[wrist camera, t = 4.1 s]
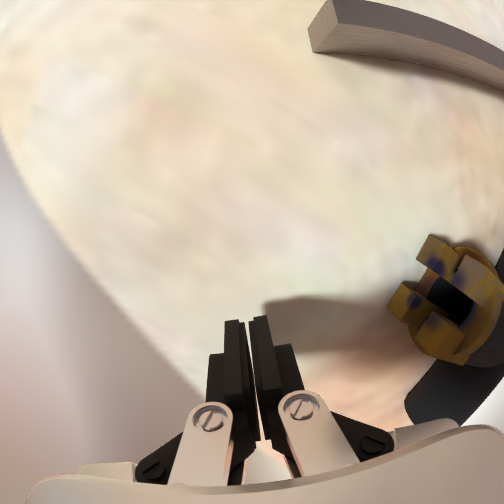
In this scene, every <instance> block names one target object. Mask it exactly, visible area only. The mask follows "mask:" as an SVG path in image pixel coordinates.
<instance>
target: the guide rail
mask: <svg viewBox="0 0 504 504" xmlns="http://www.w3.org/2000/svg"><path fill="white" fill-rule="evenodd" d="M308 32H309V37H310V41H311V46H312V51H313V52H319V53H340V54H353V55H363V56H372V57H379V58H386V59H393V60H399V61H404V62H409V63H414V64H419V65H423V66H428V67H432V68H436V69H440V70H444V71H447V72H451V73H454V74H457V75H461V76H464V77H467V78H470V79H473V80H476V81H479V82H482V83H484V84H487V85H490V86H492V87H495V88H497V89H500V90H502V91H504V51H502V50H500V49H499V48H497V47H495V46H493V45H491V44H489V43H488V42H486V41H484V40H482V39H480V38H478V37H476V36H474V35H471V34H469V33H467V32H465V31H463V30H460V29H458V28H456V27H453V26H451V25H448V24H446V23H443V22H441V21H438V20H435V19H432V18H430V17H427V16H424V15H421V14H417V13H414V12H411V11H407V10H404V9H400V8H397V7H393V6H389V5H384V4H380V3H375V2H371V1H365V0H327V1H326V2H325V4H324V5H323V6H322V8H321V9H320V11H319V12H318V14H317V15H316V17H315V18H314V20H313V21H312V23H311V24H310V26H309V27H308Z"/></svg>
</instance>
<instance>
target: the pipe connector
mask: <svg viewBox="0 0 504 504" xmlns="http://www.w3.org/2000/svg"><path fill="white" fill-rule="evenodd" d="M416 260H418V261H419V262H420V263H422V264H423V265H425V266H426V267H428V268H427V270H426V272H425V273H424V275H423V277H422V279H421V280H420V282H419V284H418V285H417V287H416V288H415V290H413V289H411V288H409V287H407V286H405V285H404V284H402V283H401V285H400V286H399V288H398V290H397V291H396V293H395V294H394V296H393V297H392V299H391V300H390V302H389V304H388V305H387V307H388V308H389V310H390V311H391V312H392V313H393V314H394V315H395V316H396V317H397V318H398V319H399V320H400V321H401V322H404V323H406V324H408V328H409V333H410V335H411V338H412V340H413V342H414V343H415V345H416V346H417V347H418V348H419V349H420V350H421V351H422V352H423V353H425V354H427V355H429V356H432V357H435V358H438V361H437V362H436V363H435V364H434V366H433V367H432V368H431V369H430V371H429V372H428V373H427V374H426V375H425V377H424V378H423V379H422V380H421V381H420V382H419V384H418V385H417V386H416V387H415V388H414V389H413V390H412V391H411V392H410V394H409V395H408V396H407V397H406V398H405V400H404V405H405V409H406V412H407V414H408V416H409V418H410V419H411V421H412V422H413V424H414V425H416V424H421V423H425V422H430V421H434V420H438V419H444V418H448V419H452V420H454V421H455V422H456V423H457V424H458V425H459V427H460V426H461V425H462V424H463V423H464V422H465V421H466V420H467V419H468V418H469V417H470V416H471V415H472V414H473V413H474V412H475V411H476V409H477V408H478V407H479V406H480V405H481V404H482V403H483V402H484V401H485V399H486V398H487V397H488V396H489V395H490V393H491V392H492V391H493V390H494V389H495V387H496V386H497V385H498V383H499V382H500V381H501V380H502V378H503V377H504V252H503V254H502V256H501V259H500V261H499V263H498V265H497V267H496V269H495V268H494V267H493V266H492V264H491V263H490V262H489V261H488V260H487V259H486V257H485V256H484V255H483V254H481V253H480V252H478V251H477V250H475V249H472V248H469V247H455V248H451V247H449V246H448V245H447V244H446V243H444V242H442V241H440V240H438V239H436V238H434V237H432V236H430V235H428V237H427V239H426V241H425V243H424V245H423V247H422V249H421V250H420V252H419V254H418V256H417V258H416Z"/></svg>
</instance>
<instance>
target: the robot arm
mask: <svg viewBox="0 0 504 504" xmlns="http://www.w3.org/2000/svg"><path fill="white" fill-rule="evenodd" d="M253 319H254V321H249V332H250V341H251V351H252V360H253V368H252V363H251V357H250V352H249V346H248V340H247V335H246V329H245V323H244V322H241V323H239V320H238V319H237V320H229V321H225V334H224V353H220V354H210V356H209V365H208V377H207V390H206V403H203V404H200V405H199V406H197V407H195V408H194V409H193V410H192V411H191V413H190V414H189V416H188V419H187V422H186V425H185V429H184V431H183V432H182V433H180V434H179V435H177V436H176V437H175V438H173V439H172V440H171V441H169V442H168V443H166V444H165V445H163V446H162V447H160V448H159V449H157V450H156V451H154V452H153V453H151V454H150V455H148V456H147V457H145V458H144V459H142V460H141V461H140V462H139V463H135V464H134V463H133V462H119V463H96V464H95V463H94V464H83V465H82V466H80V467H78V469H77V470H76V471H75V474H60V475H54V476H49V477H45V478H43V479H41V480H40V481H38V482H37V483H36V484H35V486H34V487H33V489H32V490H31V492H30V494H29V496H28V498H27V500H26V503H25V504H504V434H503V433H502V432H501V431H500V430H498V429H497V428H495V427H493V426H490V425H469V426H463V427H459V425H458V424H457V423H456V422H455V421H454V420H452V419H448V418H444V419H438V420H434V421H430V422H425V423H421V424H416V425H411V426H406V427H400V428H395V429H394V431H391V432H386V431H384V430H382V429H379V428H376V427H373V426H370V425H367V424H364V423H361V422H359V421H356V420H353V419H350V418H347V417H345V416H342V415H340V414H337V413H334V412H332V411H329V409H328V407H327V405H326V404H325V402H324V400H323V399H322V398H321V397H320V395H318V394H316V393H315V392H312V391H308V390H305V389H304V385H303V382H302V379H301V375H300V372H299V369H298V365H297V362H296V359H295V355H294V352H293V349H292V346H291V344H285V345H279V346H273V343H272V338H271V333H270V329H269V324H268V319H267V315H265V316H258V317H253ZM253 369H254V375H253ZM254 378H255V383H254ZM255 387H256V392H255ZM256 394H257V399H258V404H259V410H260V415H261V420H262V425H263V430H264V435H265V440H270V439H271V442H272V448H273V449H274V450H276V451H278V452H280V453H281V454H283V455H284V459H285V462H286V464H287V467H288V470H289V472H290V475H291V477H292V479H288V480H282V481H275V482H268V483H259V484H248V485H245V479H246V470H247V458H248V457H249V456H250V455H251V454H252V453H253V452H254V449H256V442H255V441H261V437H260V428H259V419H258V410H257V401H256Z"/></svg>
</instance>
